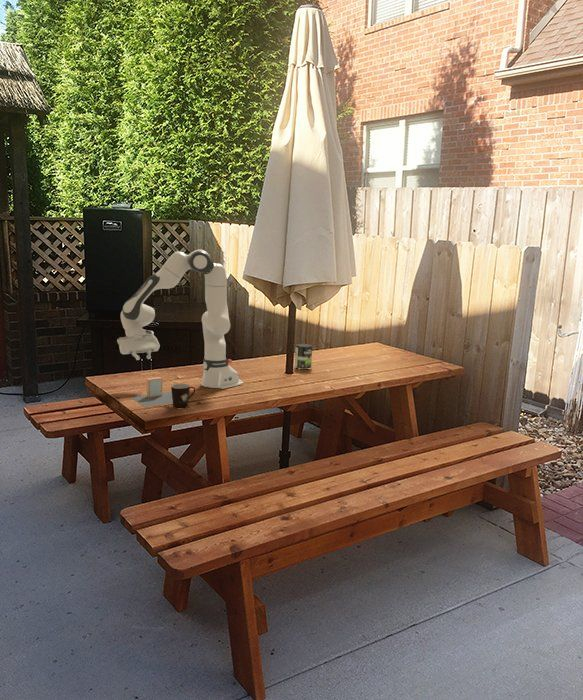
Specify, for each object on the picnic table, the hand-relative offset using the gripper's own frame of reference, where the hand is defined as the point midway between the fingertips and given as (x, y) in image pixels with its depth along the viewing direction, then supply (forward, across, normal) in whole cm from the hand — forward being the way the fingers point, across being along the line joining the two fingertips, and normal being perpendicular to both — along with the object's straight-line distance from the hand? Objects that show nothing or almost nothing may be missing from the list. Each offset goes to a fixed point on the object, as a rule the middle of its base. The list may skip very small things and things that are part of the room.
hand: (143, 358), depth 317 cm
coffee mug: (+35, +5, -12) cm, 38 cm away
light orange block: (+20, 0, +3) cm, 20 cm away
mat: (+24, 0, -1) cm, 24 cm away
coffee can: (+10, +103, +13) cm, 104 cm away
